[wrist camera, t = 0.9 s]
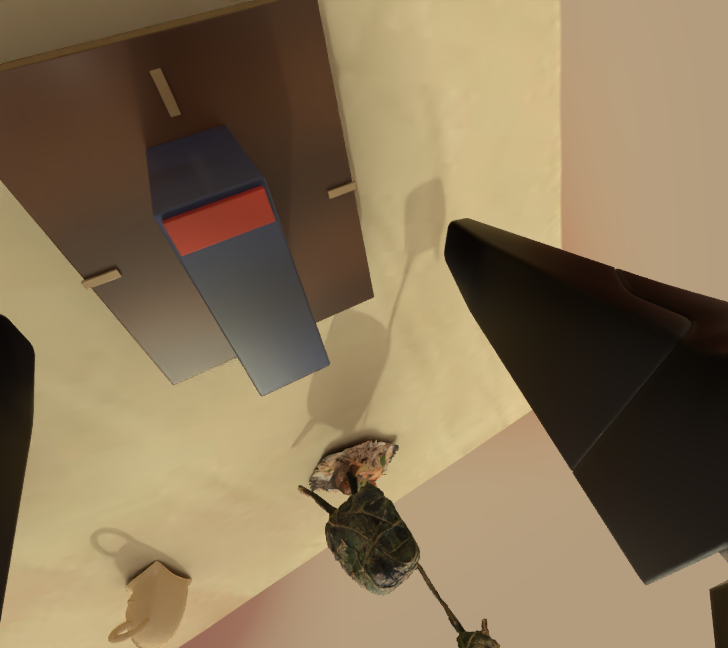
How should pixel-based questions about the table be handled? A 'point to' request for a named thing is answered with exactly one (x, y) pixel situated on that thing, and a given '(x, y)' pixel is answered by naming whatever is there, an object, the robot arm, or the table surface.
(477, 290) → the robot arm
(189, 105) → the brown slab
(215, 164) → the blue block
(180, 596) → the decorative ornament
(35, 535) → the table surface
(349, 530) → the plant with pod
